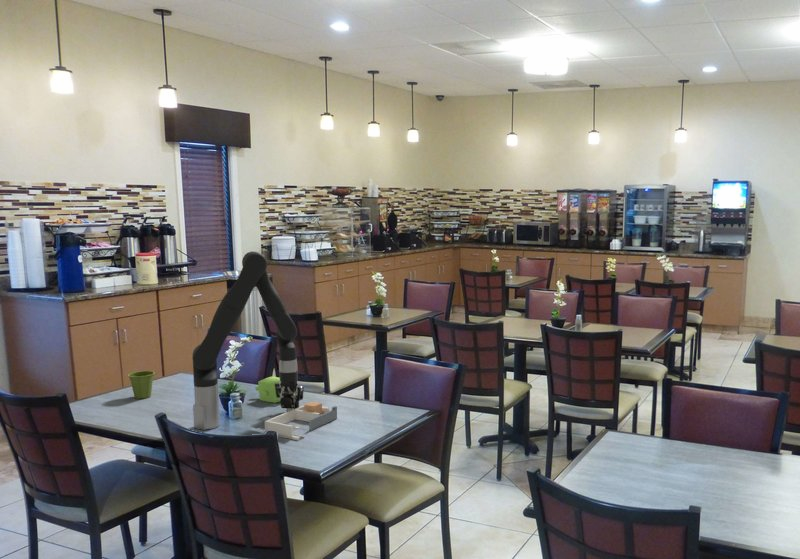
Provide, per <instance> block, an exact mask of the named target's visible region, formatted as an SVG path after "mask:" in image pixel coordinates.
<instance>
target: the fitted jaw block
mask: <svg viewBox="0 0 800 559" xmlns="http://www.w3.org/2000/svg"><path fill="white" fill-rule="evenodd" d="M304 405H305V411H309V412H314V413H320V415H322V407H323V402H318V401H317V402H316V401H310V402H308V403H306V404H304Z"/></svg>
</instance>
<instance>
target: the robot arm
mask: <svg viewBox="0 0 800 559" xmlns="http://www.w3.org/2000/svg"><path fill="white" fill-rule="evenodd" d="M241 265H242V267H241V271H240V273H239V275H238V278H237V279H236V281H235V283H234V284H233V285H232V286H231V288H230V289H229V290H228V291H227V292H226V293H225V295H224V296H223V297H222V299H221V301H220V302H219V305H218V307H217V309H216V311H215V313H214V315H213V317H212V320H211V323H210V325H209V329H208V331H207V332H206V333H207V334H206V335H205V337H204V339H203V340H202V342H201V343H200V344H198V345H197V346H195V348H194V349H193V352H192V358H191V359H192V369H193V370H192V372H193V391H194V393H193V394H194V395H193V396H194V404H193V405H192V412H193V413H192V414H193V428H194V429H199V430H203V431H207V430H211V429H216V428H218V427H219V426H220V424H221V422H220V404H219V381H218V378H219V377H218V365H217V362H218V361H217V359H218V356H219V354H220V351H221V350H222V348H223V345H224V343H225V341H226V339H227V338H228V336H229V335H230V333H231V331H232V330H233V329H234V327H235V325H236V323H237V322H238V321H239V319H240V317H241V315H242V313H243V311H244V309H245V306H246V305H247V303H248V300H249V298H250V296H251V294H252V291H253V290H254V289H255V287H256V289H257V290H258V293H259V294H260V297H261V298H262V302H263V304H264V306H265V308H266V310H267V313H268V314H269V316H270V319H271V320H272V322H274V323H275V325H276V328H277V329H276V338H277V344H278V348H279V352H278V353H279V354H278V356H279V357H278V358H279V362H278V363H279V364H278V368H279V369H278V370H279V372H278V373H279V378H280V381H281V383H280V382H279V383H276V384H275V391H276V397H277V398H280V402H279V403H280V404H281V398H282V392H284V391H288V392H291V393H292V392H295V391H296V394H295V396H296V397H295V396H294V401H295V407H294V409H296V408H298V407H300V401H302V400H303V399H304V389H305V387H304V386H303V385H301V386H300V385H298V380H299V375H298V374H299V372H298V368H299V367H298V361H297V360H298V359H297V357H298V356H297V348H296V345H295V343H294V342H295V341H294V340H295V338H296V337H297V336H298V328H297V326H296V324H295V322H294V321H293V319H292V318H291V316H290V314H289V313H288V311H287V309H286V306H285V303H284V302H283V300H282V298H281V297H280V295H279V293H278V291H277V289H276V287H275V286H274V284H273V282H272V281H271V278H270V276H269V274H268V272H267V268H268V261H267V259H266V257H265V255H264V254H262V253H260V252H258V251H248V252H246V253H245V254H244V256H243V257H242V260H241ZM281 388H282V390H281ZM280 407H281V409H284V408H283V407H282V406H281V405H280Z"/></svg>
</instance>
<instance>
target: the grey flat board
mask: <svg viewBox="0 0 800 559" xmlns="http://www.w3.org/2000/svg"><path fill="white" fill-rule="evenodd" d="M337 419H338V407H337V406H335V405H334V406H332V407H331V410H329V412H326V413H324V414H322V415H320V416H317V417H315V418H313V419H310V420H309V422H308V425H309V426H308V429H309V431H313V430H315V429H318V428H319V427H322V426H324V425H325V424H328V423H330V422H333V421H335V420H337Z"/></svg>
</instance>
